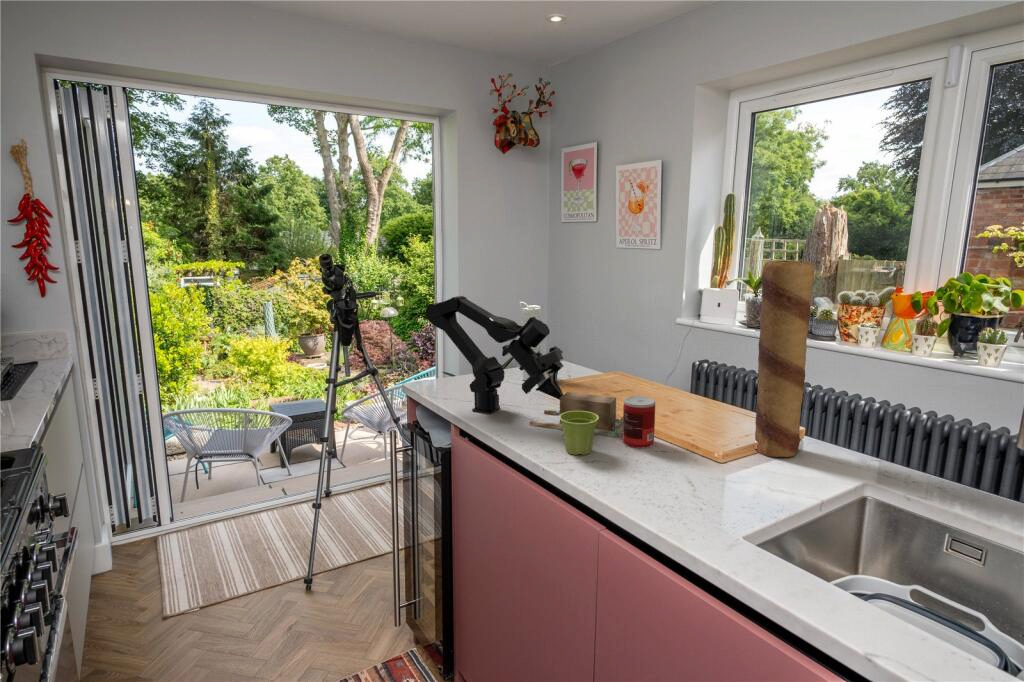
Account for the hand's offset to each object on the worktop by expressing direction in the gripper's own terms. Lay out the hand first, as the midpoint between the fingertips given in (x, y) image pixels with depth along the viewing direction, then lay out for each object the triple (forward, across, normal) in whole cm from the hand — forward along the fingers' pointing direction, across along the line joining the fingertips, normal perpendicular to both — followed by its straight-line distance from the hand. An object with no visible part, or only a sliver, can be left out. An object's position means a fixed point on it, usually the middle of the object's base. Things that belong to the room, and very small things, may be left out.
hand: (563, 399), depth 159 cm
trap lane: (+8, 0, +1) cm, 8 cm away
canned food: (+21, -8, -11) cm, 25 cm away
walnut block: (+10, -1, 0) cm, 10 cm away
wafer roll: (+43, -1, -33) cm, 54 cm away
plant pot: (+12, -19, -3) cm, 23 cm away
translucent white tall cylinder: (-14, +42, +24) cm, 51 cm away
